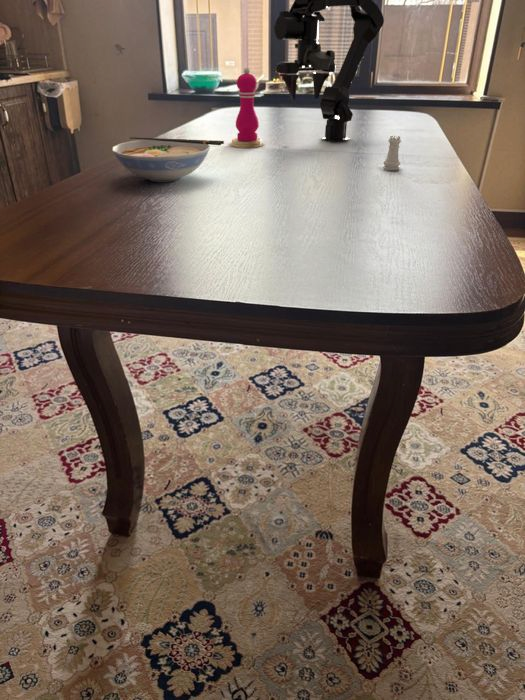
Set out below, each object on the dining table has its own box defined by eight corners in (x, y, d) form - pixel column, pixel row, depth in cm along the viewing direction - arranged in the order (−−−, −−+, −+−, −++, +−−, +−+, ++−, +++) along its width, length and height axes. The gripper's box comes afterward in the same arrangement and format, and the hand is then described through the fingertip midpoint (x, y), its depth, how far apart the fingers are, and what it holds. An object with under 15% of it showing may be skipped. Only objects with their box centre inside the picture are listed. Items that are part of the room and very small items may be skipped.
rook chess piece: (401, 168, 137) (406, 135, 133) (397, 171, 134) (402, 138, 129) (384, 166, 139) (388, 134, 134) (380, 170, 135) (384, 137, 131)
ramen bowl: (92, 185, 121) (86, 147, 116) (144, 165, 139) (140, 132, 135) (189, 195, 113) (186, 156, 109) (230, 173, 132) (229, 138, 127)
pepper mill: (235, 137, 167) (234, 66, 157) (258, 137, 168) (258, 67, 157) (236, 141, 161) (234, 68, 151) (259, 141, 161) (259, 68, 151)
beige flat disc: (250, 141, 170) (250, 136, 170) (267, 145, 164) (267, 140, 163) (225, 144, 165) (225, 139, 165) (242, 148, 159) (242, 143, 158)
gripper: (301, 40, 140) (298, 103, 148) (350, 40, 150) (345, 100, 158) (275, 39, 148) (274, 100, 156) (324, 39, 157) (321, 97, 166)
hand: (305, 99), depth 159 cm, fingers open, 9 cm apart
